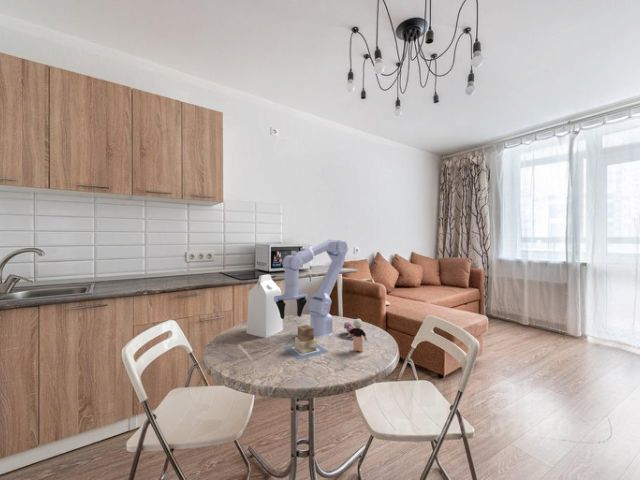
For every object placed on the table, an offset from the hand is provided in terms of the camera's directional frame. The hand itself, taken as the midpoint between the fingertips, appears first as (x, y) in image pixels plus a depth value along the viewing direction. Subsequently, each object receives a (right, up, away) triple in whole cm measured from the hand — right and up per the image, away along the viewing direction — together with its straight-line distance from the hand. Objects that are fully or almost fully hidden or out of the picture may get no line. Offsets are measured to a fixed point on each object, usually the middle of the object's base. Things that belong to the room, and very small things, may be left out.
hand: (290, 317), depth 119 cm
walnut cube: (+7, -6, -9) cm, 12 cm away
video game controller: (+26, -11, +8) cm, 29 cm away
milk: (-13, -10, +13) cm, 21 cm away
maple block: (+7, -10, -9) cm, 15 cm away
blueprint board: (+7, -11, -9) cm, 15 cm away
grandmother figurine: (+26, -11, -10) cm, 30 cm away
